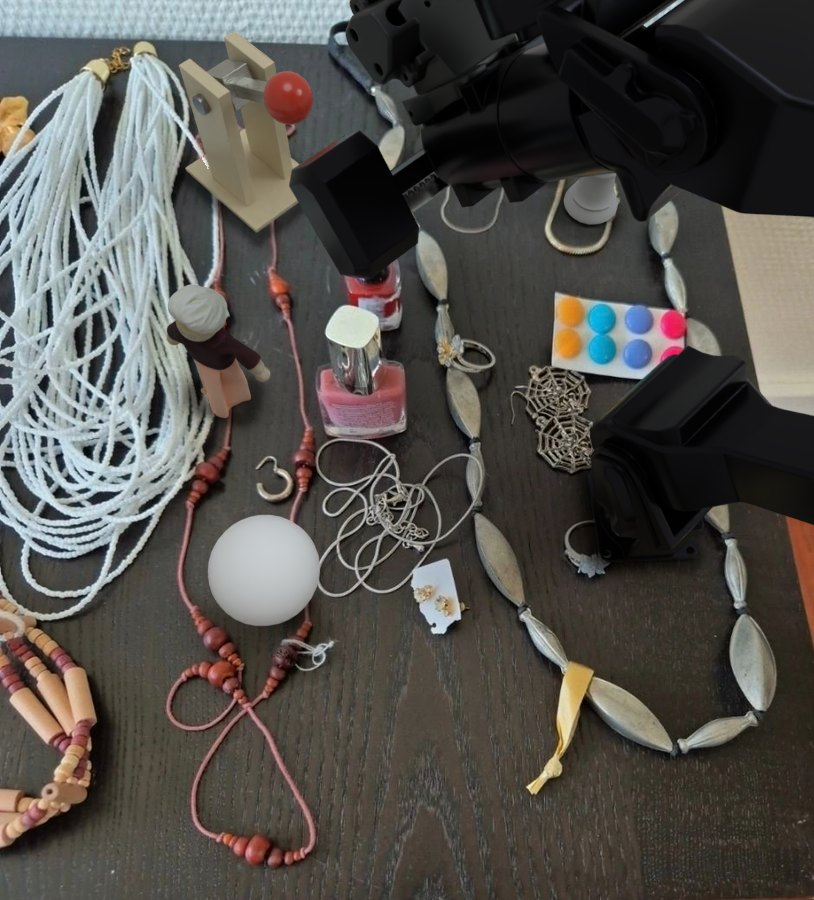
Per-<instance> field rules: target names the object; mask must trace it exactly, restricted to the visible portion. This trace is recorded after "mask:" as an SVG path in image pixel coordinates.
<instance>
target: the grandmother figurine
mask: <svg viewBox="0 0 814 900" xmlns="http://www.w3.org/2000/svg"><path fill="white" fill-rule="evenodd" d="M167 311H168V314H169V315H170V316H171V317H172V319H174V321H172V322H171V323H169V324H168V326H167V327H166V341H167V343H168V344H170V345H172V346H178V345H179V344H181V345H183V347H184V349H185V351H186V352H187V353H188V354H189V355H190V356H191V358H192V359H193V361H194V363H195V366H196V368H197V371H198V374H199V378H200V382H201V383H202V385H203V387H202V388H200V392H201V394H203V395H206V396H207V398H208V403H209V406H210V409H211V411H212V413H213V414H214V415H215V416H216V417H218V418H222V419H227V418H229V416H230V410H231V408H233V407H235V406H237V405H240V404H241V403H243V402H248V401H250V400H251V399H252V395H251V391H250V388H249V382H248V379H247V378H246V376H245V373H244V371H243V369H242V368H241V366H242V367H244V368H245V369H246V370H247V371H249V372H250V373H251V374H252V375H254V378H255V380H257V381H258V382H259V383H266V382H268V381H269V380H270V379H271V371H270V369H269V368H268V367H266V366H265V363H264V362H263V361H262V357H261V355H260V354H259V353H258V352H257V351H256V350H254V349H252V348H251V347H249V346H247V345H245V344H244V343H243V342H242V341H240V340H238V339H237V338H235V337H234V336H233V335H232V334H231V333H229V331H228V330H226V328H225V327H224V326H225V324H226V321H227V319H228V318H229V317H231V315H230V312H229V310H228V303H227V300H226V299H225V297H224V296H223V295H222V294H220V293H218V292H217V291H216V290H215V289H214V288H211V287H206V286H201V285H199V284H196V283H195V284H194V283H193V284H192V283H191V284H187V285H184V286H182V287H181V288H178V290H176V291H175V292H174V293H173V294H172V295H171V296H170V297H169V299H168V301H167ZM239 364H240V365H241V366H240V365H239Z"/></svg>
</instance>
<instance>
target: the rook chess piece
mask: <svg viewBox="0 0 814 900" xmlns="http://www.w3.org/2000/svg"><path fill="white" fill-rule="evenodd" d="M616 176H617V175H616V173H613V174H605V175H597V176H589V177H581V178H578V180H577V181H575V183H573V184H571V186H570V187H569V188H568V189H567V191H565V194H564V198H563V206H564V209H565V210H566V212H567V213H568V214H569V216H570V217H572V218H573V219H574V220H576V221H577V222H579V223H581V224H584V225H589V226H591V225H601V224H603V223H605V222H607V221H610V220H611V219H612V218H613V217H614V216H615V215H616V213H617V210H618V206H619V201H618V198H617V194H616V190H615V183H616Z"/></svg>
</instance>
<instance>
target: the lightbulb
mask: <svg viewBox="0 0 814 900" xmlns="http://www.w3.org/2000/svg"><path fill="white" fill-rule="evenodd" d="M319 557H320V556H319V553H318V551H317V548H316V545H315V543H314V541H313V540H312V538H311V537H310V535H309V534H308V533H307V532H306V531H305V530H304V529H303V528H302V527H301V526H299V525H298V524H296V523H295V522H293V521H292V520H290V519H287V518H285V517H283V516H278V515H273V514H257V515H251V516H248V517H245V518H243V519H241V520H238V521H237V522H235V523H233V524H232V525H231V526H229V527H228V528H227V529H226V530H225V531H223V533H222V535H220V537H219V538H218V539H217V541H216V543H215V544H214V546H213V547H212V550H211V552H210V555H209V559H208V566H207V577H208V586H209V588H210V592H211V595H212V597H213V598H214V600H215V602H216V604H217V605H218V606H219V607H220V608H221V609H222V610H223V611H224V612H225V613H226V614H227V616H229V617H231V618H232V619H234V620H235V621H238V622H240V623H242V624H245V625H248V626H249V625H250V626H254V627H269V626H274V625H280V624H282V623H285V622H286V621H289V620H291V619H292V618H294V617H295V616H297V615H299V614H300V612H302V611H303V609H305V608H306V607H307V605H308V604H309V602H310V601H311V600H312V598H313V596H314V594H315V592H316V590H317V588H318V585H319V580H320V575H321V562H320V558H319Z"/></svg>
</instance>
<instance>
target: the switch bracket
mask: <svg viewBox="0 0 814 900" xmlns="http://www.w3.org/2000/svg"><path fill="white" fill-rule="evenodd" d="M223 39H224V40H223V41H224V44H225V49H226V52H227V57H228V60H233V61H238V62H243V63H246V64H247V67H248V69H249V71H250V73H251V76H252V78H253V79H256V80H261V81H265V82H268V81H269V79H270V78H271V77H272V76H274V75H275V74H277V69H276V64H275V61H274V60H272V59H271V58H270V57H269V56H268V55H266V54H265V53H264V52H263V51H261V50H260V49H258V48H257V47H256V46H255V45H253V44H252V43H251V42H249V40H247V39H246V38H244V37H243V36H242V35H240V34H239V33H238V32H236V31H235V30H233V31H232V32H230V33H228V34H227V35H225V36H224V37H223ZM178 68H179V71H180V74H181V77H182V81H183V84H184V87H185V90H186V94H187V97H188V101H189V104H190V108H191V111H192V113H193V118H194V122H195V124H196V127H197V130H198V134H199V137H200V140H201V144H202V148H203V150H204V153H205V154H204V155H203V156H205V157H206V160H207V162H208V164H209V167H208V168H209V169H207V166H206V165H205V163H204V162H203V160H202V156H201V157H199V158H198V159H196V160H195V161H193V162H192V163H191V164H189V165H187V166H186V167H185V171H186V172H187V173H188V174H190V176H191V177H192V178H194V179H195V180H196V181H197V182H198V183H199V184H200V185H201V186H202V187H204V188H205V189H206V190H207V191H208V192H209V193H210V194H211V195H213V196H214V197H215V198H216V199H217V200H218V201H219V202H220V203H222V204H223V205H224V206H225V207H226V208H227V209H229V210H230V211H231V212H232V213H233V214H234V215H235V216H236V217H238V218H239V219H240V220H241V221H242V222H243V224H246V226H248V228H249V229H251V230H252V231H253V232H254V233H258V232H260V231H261V230H263V229H264V228H265V227H267V226H268V225H270V224H271V223H272V222H274V221H275V220H276V219H278V218H279V217H281V216H282V215H283V214H285V213H286V212H287V211H289V210H291V209H292V208H293V207H295V206H296V205H297V204H299V203H298V201H297V199H296V197H295V196H294V194H293V192H292V191H291V189H290V187H289V183H290V177H291V171H292V169H294V168H295V167H297V166H298V165H300V164H301V163H298V162H297V161H296V160H295V159H294V158H293V157H291V149H290V144H289V138H288V133H287V127H286V126H287V125H285V124H282V123H279V122H278V121H276V120H275V119H273V118H272V117H271V116H270V114H269V113H268V111H267V109H266V107H265V104H261V103H257V102H253V101H252V102H250V103H249V104H247V105H246V106H244V107H243V108H241V109H240V113H241V116H242V122H243V125H244V128H243V129H241V130H240V128H239V124H238V121H237V116H236V111H234V107H233V103H232V99H231V95H230V91H229V90H228V89H226V88H225V87H224V86H223V85H222V84H220V83H219V82H218V81H217V80H215V79H214V78H213V77H212V76H211V75H209V74H208V73H207V71H206V70H205V69H204V68H202V67H201V66H200V65H199V64H197V63H196V62H195V61H194V60H192V59H191V58H187V59H186V60H185V61H183V62H181V63H180V64H179V65H178Z"/></svg>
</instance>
